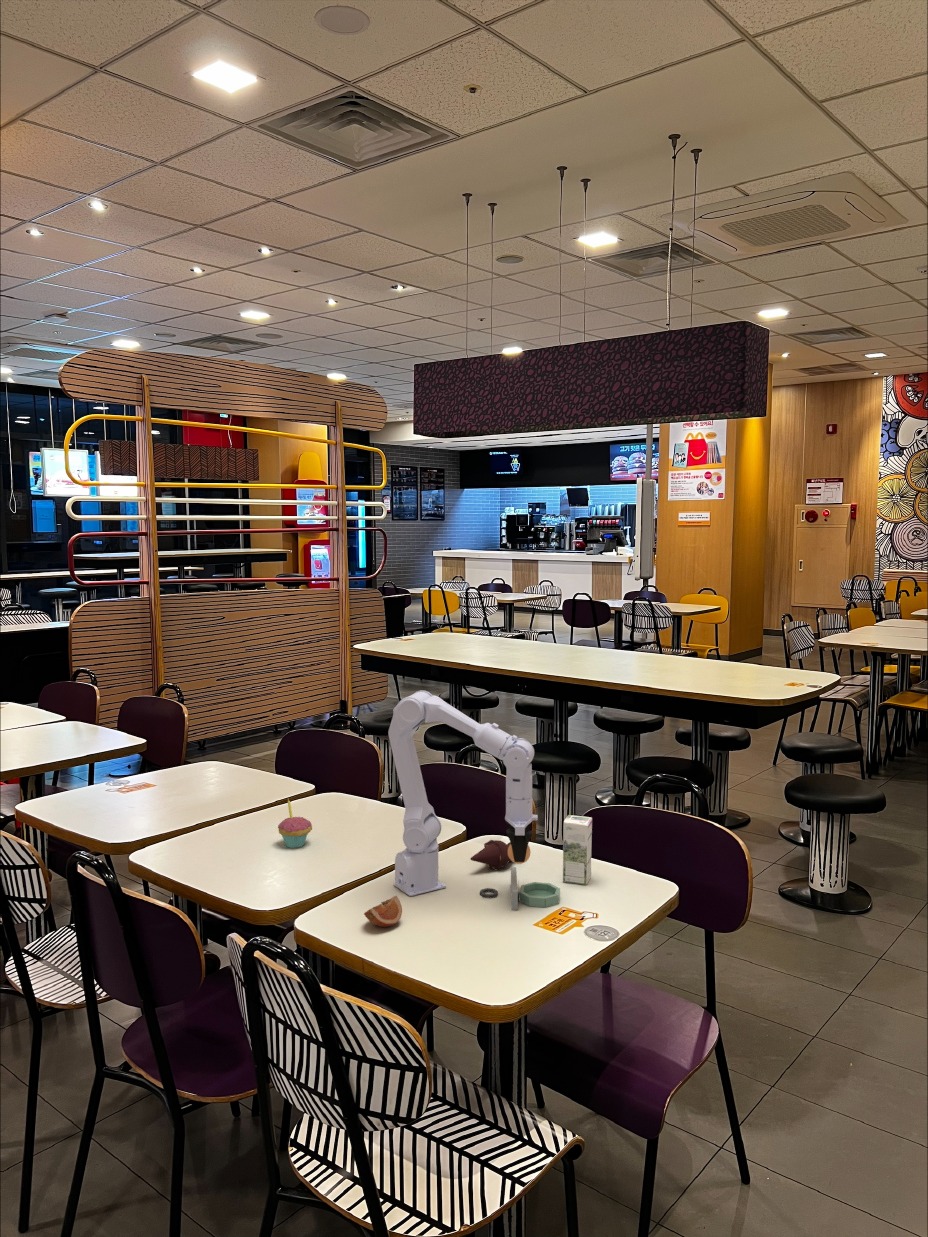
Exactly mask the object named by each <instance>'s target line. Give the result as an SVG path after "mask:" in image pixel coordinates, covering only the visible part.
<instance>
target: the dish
mask: <svg viewBox="0 0 928 1237" xmlns="http://www.w3.org/2000/svg"><path fill="white" fill-rule="evenodd" d="M560 900H561V888H560V887H558V886H556V885H555V884H552V883H550V882H540V881H539V882H538V881H532V882H528V883H524V884H521V885H520V888H519V891H518V901H519V902H521V903H522V904H525V905H526V906H527V907H533V908H543V909H545V908H549V907H552V906H556V905H558V904H559V903H560Z"/></svg>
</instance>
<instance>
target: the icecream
mask: <svg viewBox="0 0 928 1237" xmlns="http://www.w3.org/2000/svg"><path fill="white" fill-rule="evenodd" d="M483 844H484V845H483V846H484V847H483V848H482V849H481V850H480V851H478V852H477V853H475V854H474V855H472V856H471V857H470V858H469V859H470V861H472V862H476V863H480V864H483V865H488V867H489V868H490V869H493V870H495V871H497V870H500V869H501V868H502V867H505V866H507V865H508V864H509V863H513V862H512V861H511V860H510V858H509V856H508V847H509V845H510V844H511V842H510V841H509V842H508V843H505V841H503V840H494V839H489V841H487V842H485V843H483Z"/></svg>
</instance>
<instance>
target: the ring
mask: <svg viewBox="0 0 928 1237" xmlns="http://www.w3.org/2000/svg"><path fill="white" fill-rule="evenodd" d="M498 894H499V890H497V889H495V888H490V887H485V888H481V889H480V890H479V896H480V897H481V898H484V899H485V898H486V899H493V898H496V897H498Z"/></svg>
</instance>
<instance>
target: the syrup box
mask: <svg viewBox="0 0 928 1237" xmlns="http://www.w3.org/2000/svg"><path fill="white" fill-rule="evenodd" d="M592 829H593V817H592V816H591V817H589V816H584V815H583V816H582V815H581V816H580V815H570V814H568V815H567V816H566V817H565V819H564V821H563V831H562V832H563V836H562V837H563V839H562V840H563V842H562V843H563V844H562V845H563V846H562V882H563V883H569V884H577V885H584V886H586V885H588V884H589V881H590V880H591V877H592V839H593V838H592V837H593V836H592V834H593V830H592Z"/></svg>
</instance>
